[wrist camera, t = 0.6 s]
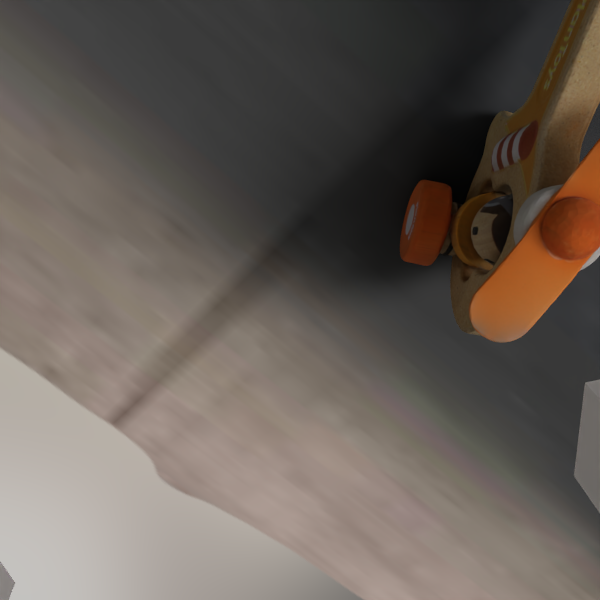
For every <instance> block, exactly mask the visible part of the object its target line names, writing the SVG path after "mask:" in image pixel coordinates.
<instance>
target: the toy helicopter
mask: <svg viewBox="0 0 600 600" xmlns="http://www.w3.org/2000/svg"><path fill="white" fill-rule="evenodd" d="M599 102H600V0H571V2H570V4H569V7H568V9H567V11H566V14H565V16H564V18H563V20H562V23H561V25H560V27H559V30H558V32H557V34H556V37H555V39H554V41H553V44H552V46H551V49H550V51H549V53H548V56H547V58H546V60H545V63H544V65H543V67H542V69H541V72H540V74H539V76H538V78H537V81H536V83H535V86H534V88H533V90H532V92H531V94H530V96H529V97H528V99H527V101H526V102H525V104H524V105H523V106H522V107H521V108H519V109H518V110H516V111H515V112H514V113H511V112H508V111H501V112H499V113H498V114H497V115H496V116H495V118H494V120H493V121H492V123H491V125H490V128H489V131H488V134H487V138H486V144H485V149H484V153H483V156H482V159H481V162H480V165H479V167H478V169H477V172H476V174H475V176H474V179H473V181H472V184H471V186H470V189H469V192H468V194H467V197H466V200H465V203H464V204H463V205H462V204H460V203H454V202H452V190H451V187H450V186H449V185H447V184H444V183H439V182H435V181H430V180H421V181H419V183H418V184H417V185H416V187H415V189H414V190H413V192H412V194H411V197H410V200H409V203H408V206H407V210H406V214H405V217H404V222H403V227H402V232H401V239H400V255H401V258H402V260H404V261H405V262H410V263H415V264H419V265H424V266H428V265H431V264H432V263H433V262H434V261H435V260H436V258H437V257H438V255H439V253H441V254H443V255H452V256H453V257H452V268H451V280H450V283H451V301H452V308H453V313H454V316H455V319H456V322H457V324H458V325H459V327H460V329H461V330H462V331H464V332H466V333H469V334H475V335H481V336H483V337H485V338H487V339H489V340H491V341H494V342H510V341H513V340H516V339H518V338H520V337H522V336H523V335H524V334H525V333H527V331H528V330H529V329H530V328H531V327H532V326H533V325H534V324H535V323H536V322H537V321H538V319H539V318H540V317H541V316H542V315H543V314H544V312H545V311H546V310H547V309H548V308H549V306H550V305H551V304H552V303H553V302H554V301H555V300H556V299H557V297H558V296H559V295H560V294H561V293H562V291H563V290H564V289H565V288H566V287H567V286H568V284H569V283H570V282H571V281H572V280H573V278H574V277H575V276H576V274H577V273H578V272H579V271H580V270H582V269H584V268H586V267H587V266H589V265H590V264H591V263H593V262H594V261H595V260H596V259H597V258H598V257H599V255H600V139H599V140H598V141H597V142H596V144H595V145H594V146H593V148H592V149H591V150H590V151H589V152H588V154H587V155H586V156H585V157H584V159H583V160H582V161H581V163H580V164H579V156H580V150H581V146H582V142H583V138H584V135H585V133H586V131H587V129H588V126H589V124H590V122H591V120H592V117H593V115H594V113H595V110H596V108H597V106H598V104H599Z"/></svg>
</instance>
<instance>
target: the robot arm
mask: <svg viewBox="0 0 600 600" xmlns="http://www.w3.org/2000/svg"><path fill="white" fill-rule="evenodd" d="M574 477H575V478H576V479H577V481H578V482H579V484H580V485H581V487H582V488H583V490H584V491H585V492H586V494H587V495H588V497H589V498H590V500H591V501H592V503H593V504H594V506H595V507H596V508H597V510H598V511H599V513H600V380H596V381H591V382H586V383H585V388H584V397H583V405H582V414H581V422H580V430H579V439H578V447H577V456H576V464H575V473H574ZM14 584H15V582H14V581H13V579H12V578H11V576H10V575H9V573H8V572H7V571H6V569H5V568H4V566H3V565H2V564H1V562H0V600H9V597H10V594H11V592H12V589H13V587H14Z"/></svg>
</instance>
